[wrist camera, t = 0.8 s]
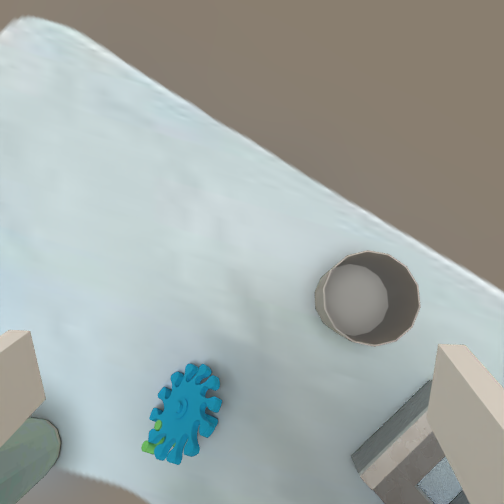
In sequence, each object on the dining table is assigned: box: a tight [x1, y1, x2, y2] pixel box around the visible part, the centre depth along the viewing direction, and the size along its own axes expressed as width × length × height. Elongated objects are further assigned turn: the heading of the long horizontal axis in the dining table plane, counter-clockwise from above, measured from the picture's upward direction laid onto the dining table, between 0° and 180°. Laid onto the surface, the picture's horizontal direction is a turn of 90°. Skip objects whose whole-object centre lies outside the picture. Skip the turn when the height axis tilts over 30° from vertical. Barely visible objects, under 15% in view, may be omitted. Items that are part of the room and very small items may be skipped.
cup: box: [315, 250, 420, 347], centre depth 36 cm, size 8×8×10 cm
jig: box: [351, 380, 470, 504], centre depth 35 cm, size 14×12×5 cm
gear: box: [142, 364, 222, 465], centre depth 38 cm, size 11×6×10 cm
